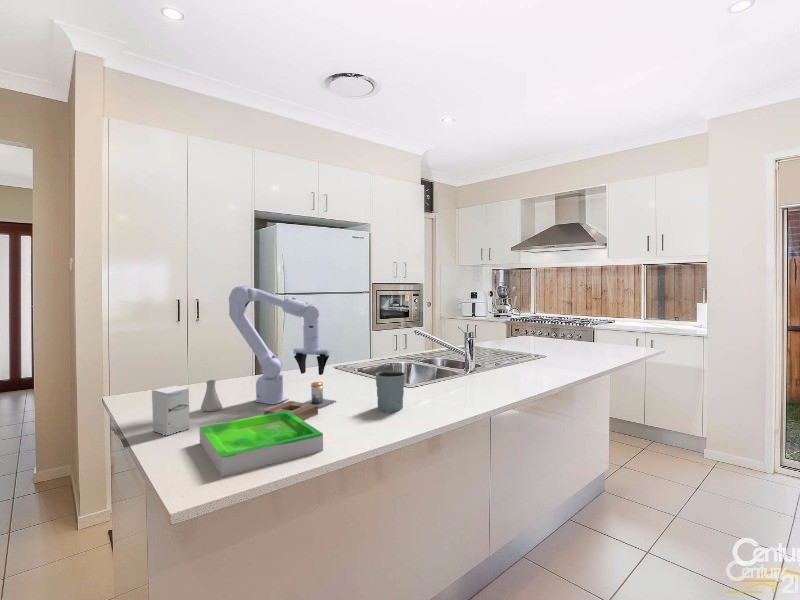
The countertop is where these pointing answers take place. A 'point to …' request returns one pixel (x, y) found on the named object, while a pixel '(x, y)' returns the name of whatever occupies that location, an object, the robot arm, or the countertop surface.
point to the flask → (211, 398)
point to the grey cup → (390, 390)
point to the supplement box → (170, 409)
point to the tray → (258, 441)
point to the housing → (295, 409)
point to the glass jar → (317, 392)
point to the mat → (325, 403)
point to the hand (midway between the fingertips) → (312, 373)
